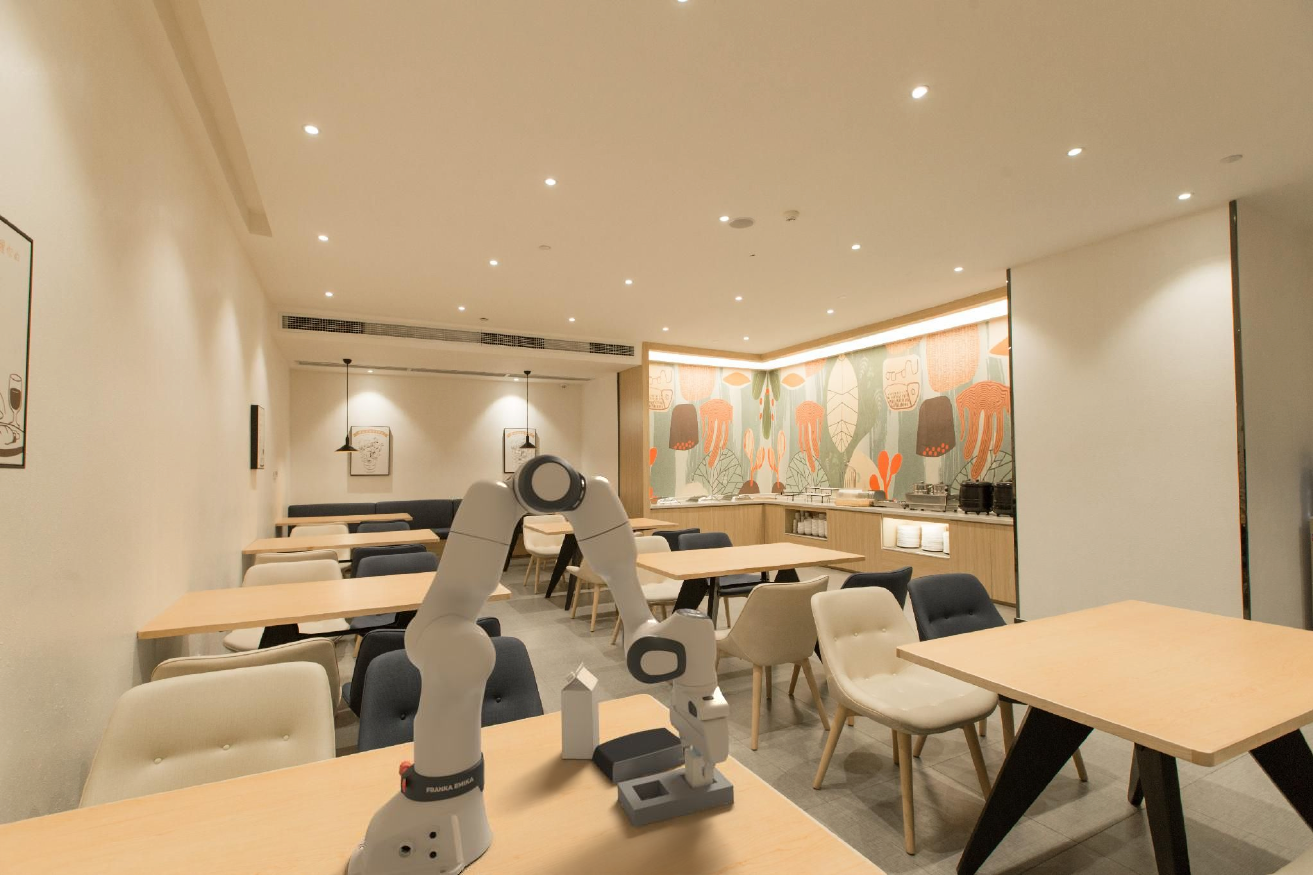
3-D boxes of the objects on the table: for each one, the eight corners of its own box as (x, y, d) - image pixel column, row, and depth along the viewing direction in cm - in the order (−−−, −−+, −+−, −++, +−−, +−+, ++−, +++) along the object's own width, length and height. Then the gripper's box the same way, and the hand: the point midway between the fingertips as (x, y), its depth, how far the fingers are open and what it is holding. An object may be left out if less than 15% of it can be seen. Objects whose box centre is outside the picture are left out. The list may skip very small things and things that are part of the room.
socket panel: (634, 827, 104) (634, 810, 104) (617, 798, 113) (617, 783, 114) (733, 801, 111) (733, 785, 112) (710, 776, 121) (710, 761, 121)
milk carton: (599, 745, 136) (597, 662, 137) (593, 760, 129) (591, 672, 130) (569, 744, 137) (568, 662, 138) (561, 759, 130) (560, 672, 131)
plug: (694, 802, 112) (692, 753, 112) (685, 792, 115) (684, 745, 116) (713, 797, 113) (711, 749, 114) (704, 787, 117) (702, 741, 117)
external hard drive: (695, 762, 128) (694, 743, 128) (614, 788, 118) (613, 767, 119) (665, 739, 139) (665, 722, 139) (590, 761, 130) (589, 742, 130)
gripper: (661, 679, 124) (662, 746, 123) (702, 715, 105) (705, 795, 104) (688, 675, 126) (690, 741, 125) (734, 709, 107) (736, 787, 106)
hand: (697, 766), depth 114 cm, fingers open, 8 cm apart
